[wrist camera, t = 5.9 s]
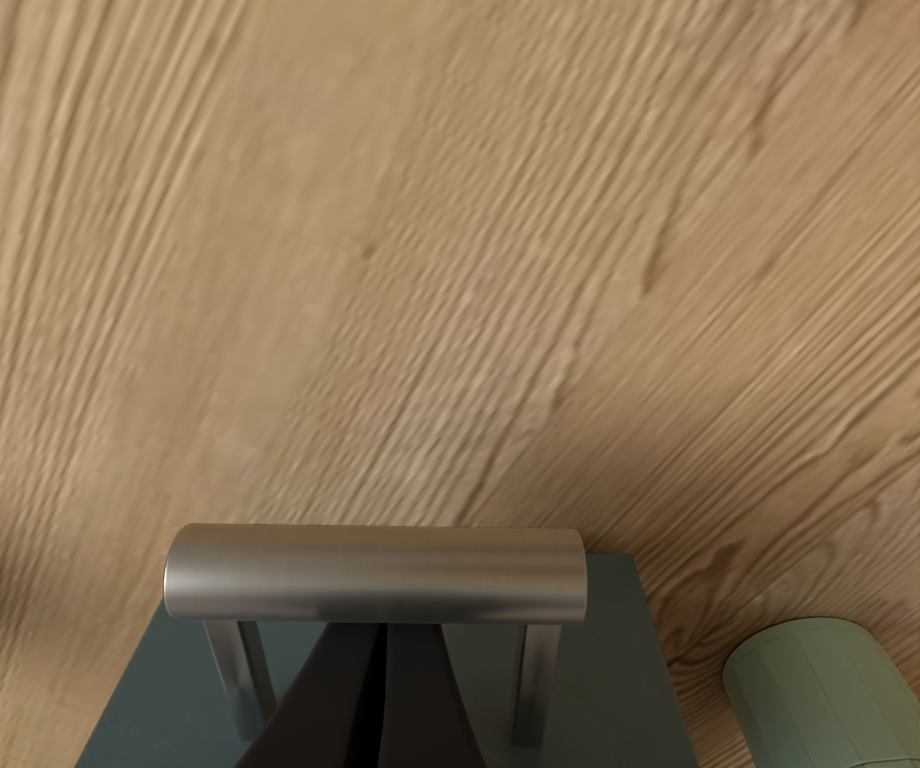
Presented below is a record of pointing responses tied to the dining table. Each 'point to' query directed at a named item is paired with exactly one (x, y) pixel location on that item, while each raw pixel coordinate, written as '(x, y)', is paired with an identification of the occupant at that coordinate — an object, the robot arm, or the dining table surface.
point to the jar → (822, 698)
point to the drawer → (399, 601)
